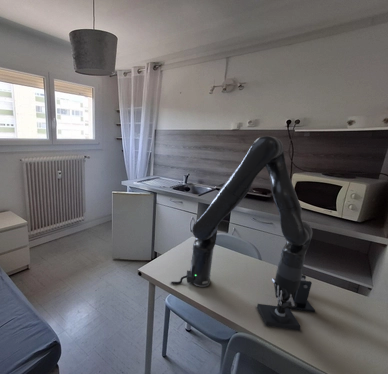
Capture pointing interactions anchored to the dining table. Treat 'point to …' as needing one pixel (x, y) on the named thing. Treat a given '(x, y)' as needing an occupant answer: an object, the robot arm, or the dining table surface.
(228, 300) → the dining table surface
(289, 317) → the flush panel
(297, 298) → the bracket
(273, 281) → the flush lever
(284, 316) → the flush button
